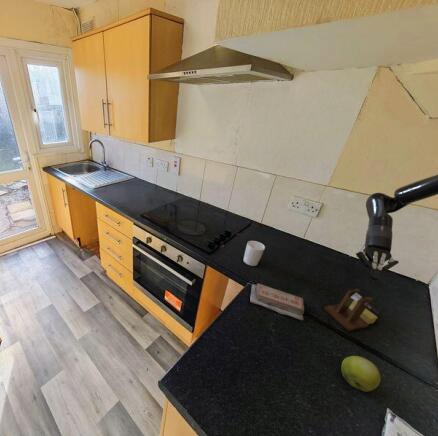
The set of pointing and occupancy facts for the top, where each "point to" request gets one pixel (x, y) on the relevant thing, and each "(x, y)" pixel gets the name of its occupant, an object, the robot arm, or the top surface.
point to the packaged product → (277, 301)
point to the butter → (365, 314)
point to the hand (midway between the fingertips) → (374, 279)
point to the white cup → (253, 252)
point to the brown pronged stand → (349, 311)
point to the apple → (360, 373)
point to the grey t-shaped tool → (371, 308)
